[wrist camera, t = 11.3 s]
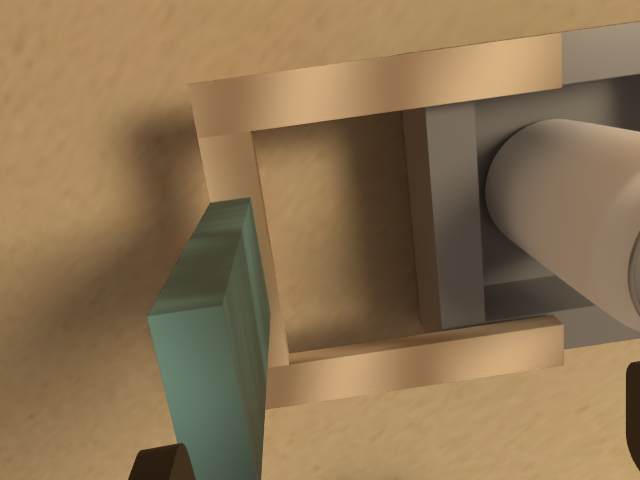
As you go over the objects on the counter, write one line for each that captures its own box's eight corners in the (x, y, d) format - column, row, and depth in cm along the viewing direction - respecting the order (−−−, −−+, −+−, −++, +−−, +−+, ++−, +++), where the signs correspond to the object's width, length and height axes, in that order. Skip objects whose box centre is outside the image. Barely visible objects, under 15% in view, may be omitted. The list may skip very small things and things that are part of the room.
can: (505, 265, 30) (646, 391, 18) (463, 152, 28) (589, 211, 16) (624, 214, 29) (844, 309, 18) (589, 94, 27) (809, 114, 16)
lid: (251, 399, 26) (227, 647, 15) (191, 83, 22) (94, 100, 11) (553, 354, 26) (751, 566, 15) (549, 33, 22) (817, 0, 11)
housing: (420, 321, 31) (444, 367, 27) (397, 54, 27) (421, 51, 22) (671, 284, 32) (740, 323, 27) (685, 14, 27) (769, 3, 23)
